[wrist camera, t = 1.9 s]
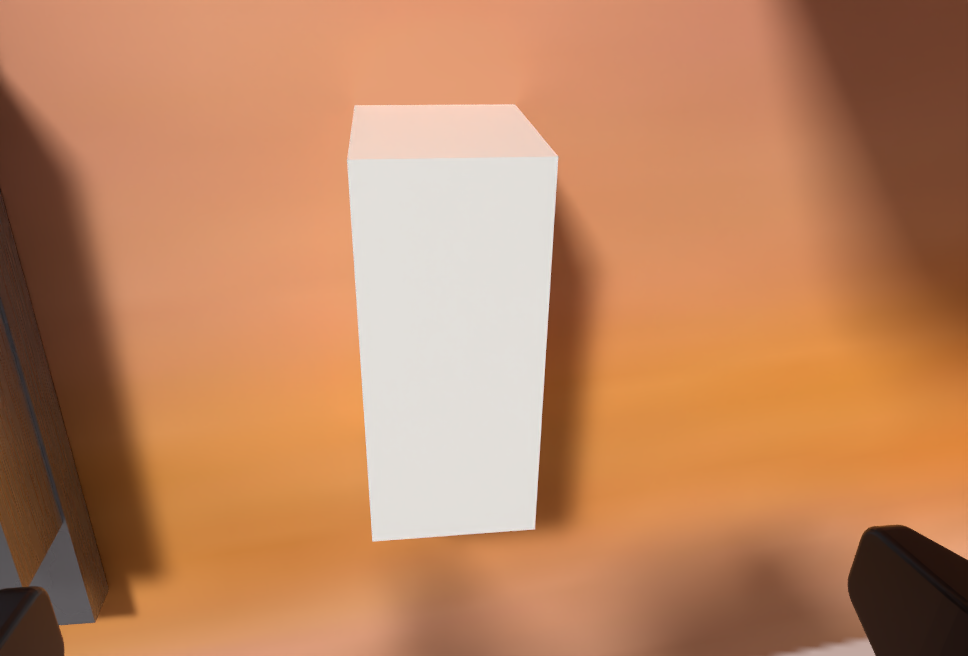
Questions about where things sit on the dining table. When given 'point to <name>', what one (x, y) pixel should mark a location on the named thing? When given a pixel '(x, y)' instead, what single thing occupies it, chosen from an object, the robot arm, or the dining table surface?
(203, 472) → the dining table surface
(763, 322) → the dining table surface
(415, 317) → the white rectangular prism
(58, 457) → the rack
